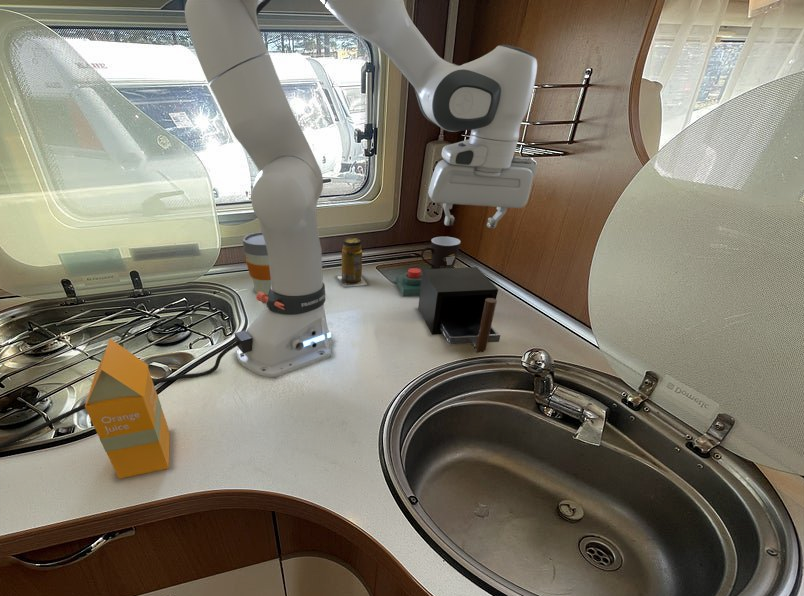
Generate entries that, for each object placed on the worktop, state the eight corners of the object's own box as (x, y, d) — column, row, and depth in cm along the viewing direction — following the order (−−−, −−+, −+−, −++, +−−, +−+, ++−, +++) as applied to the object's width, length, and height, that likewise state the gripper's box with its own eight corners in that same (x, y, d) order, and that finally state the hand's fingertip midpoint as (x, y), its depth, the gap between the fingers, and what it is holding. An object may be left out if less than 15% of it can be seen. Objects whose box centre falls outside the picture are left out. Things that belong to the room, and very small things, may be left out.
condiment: (359, 274, 133) (360, 236, 125) (367, 285, 126) (368, 244, 119) (337, 277, 131) (336, 238, 124) (343, 287, 125) (343, 247, 118)
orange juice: (117, 479, 66) (67, 374, 54) (124, 441, 73) (80, 341, 61) (170, 468, 68) (132, 364, 56) (171, 432, 75) (138, 333, 63)
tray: (507, 353, 90) (520, 301, 83) (455, 356, 89) (465, 303, 82) (480, 319, 103) (490, 270, 96) (435, 321, 102) (441, 273, 95)
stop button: (421, 279, 120) (422, 272, 119) (409, 279, 120) (409, 273, 118) (418, 274, 123) (419, 267, 121) (406, 274, 122) (407, 268, 121)
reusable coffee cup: (286, 299, 118) (281, 246, 110) (243, 297, 120) (235, 244, 111) (296, 282, 128) (292, 231, 120) (256, 280, 130) (250, 230, 121)
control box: (430, 295, 119) (432, 281, 117) (402, 296, 119) (404, 283, 117) (422, 281, 127) (423, 268, 125) (395, 282, 127) (396, 269, 125)
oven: (488, 332, 102) (498, 289, 95) (431, 335, 101) (437, 292, 95) (469, 306, 113) (476, 266, 107) (417, 309, 112) (422, 269, 106)
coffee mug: (453, 268, 136) (458, 236, 130) (457, 278, 129) (462, 245, 123) (417, 267, 137) (420, 236, 131) (418, 277, 130) (422, 245, 124)
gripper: (533, 154, 85) (510, 223, 94) (434, 146, 83) (420, 218, 92) (547, 161, 80) (521, 234, 89) (443, 153, 78) (427, 228, 87)
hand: (469, 226), depth 90 cm, fingers open, 8 cm apart
